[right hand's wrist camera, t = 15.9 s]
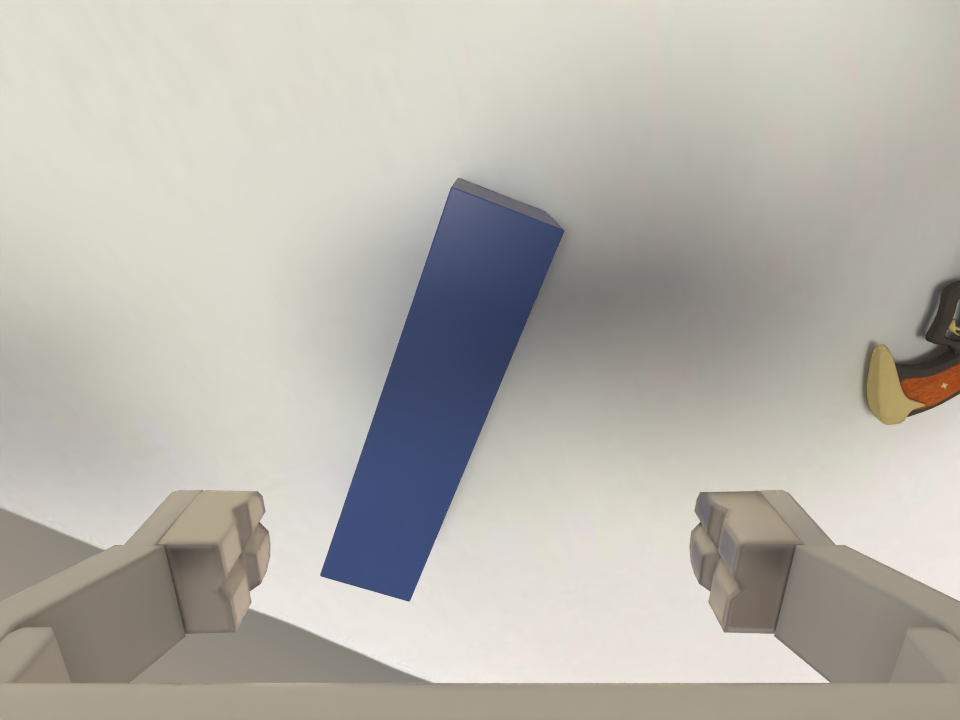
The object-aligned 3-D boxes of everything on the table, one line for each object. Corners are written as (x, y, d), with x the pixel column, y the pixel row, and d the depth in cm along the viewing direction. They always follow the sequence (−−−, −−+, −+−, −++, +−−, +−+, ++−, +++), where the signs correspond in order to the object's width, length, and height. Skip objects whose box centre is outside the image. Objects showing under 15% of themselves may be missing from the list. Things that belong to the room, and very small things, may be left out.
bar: (457, 177, 32) (451, 186, 25) (546, 211, 33) (565, 229, 26) (349, 497, 40) (319, 576, 33) (422, 520, 41) (409, 602, 33)
